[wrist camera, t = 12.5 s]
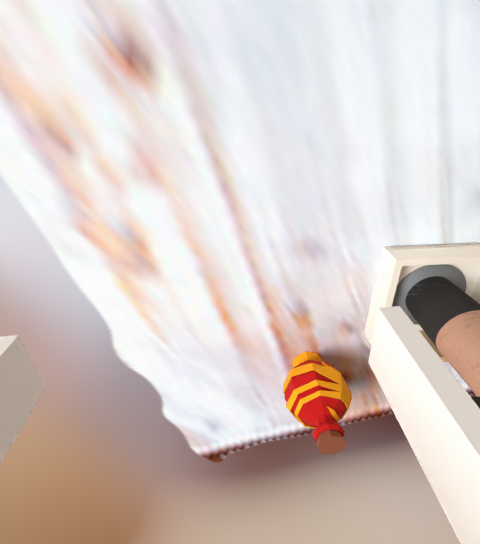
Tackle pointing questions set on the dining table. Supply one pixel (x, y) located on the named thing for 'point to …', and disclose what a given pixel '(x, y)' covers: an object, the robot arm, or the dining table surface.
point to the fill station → (422, 276)
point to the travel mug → (449, 324)
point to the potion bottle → (318, 399)
